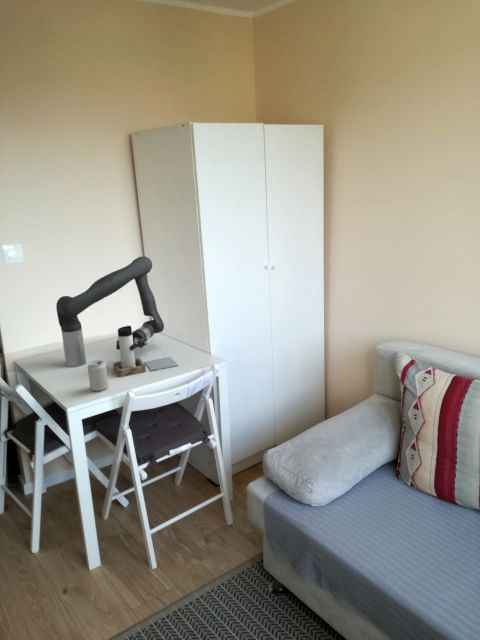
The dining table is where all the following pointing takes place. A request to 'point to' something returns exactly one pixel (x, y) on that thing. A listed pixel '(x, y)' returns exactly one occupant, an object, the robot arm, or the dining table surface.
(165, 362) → the rubber mat
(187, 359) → the dining table surface
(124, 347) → the travel mug
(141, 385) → the dining table surface
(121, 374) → the frame
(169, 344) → the dining table surface
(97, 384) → the can
